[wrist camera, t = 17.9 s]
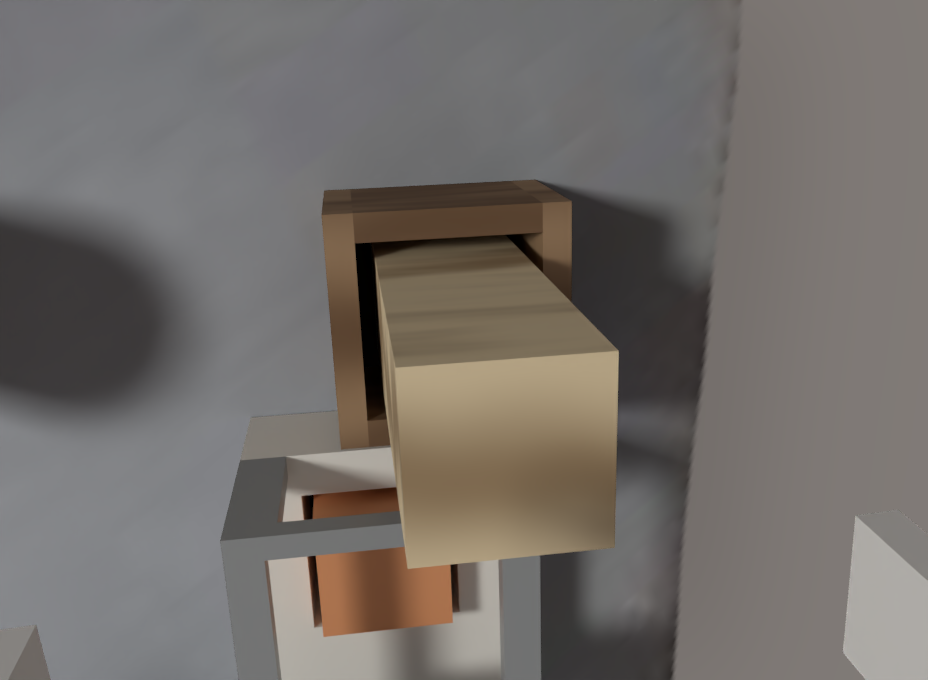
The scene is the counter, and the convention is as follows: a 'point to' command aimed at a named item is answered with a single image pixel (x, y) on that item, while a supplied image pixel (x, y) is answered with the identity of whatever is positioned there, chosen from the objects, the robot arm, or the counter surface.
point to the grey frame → (302, 538)
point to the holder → (415, 218)
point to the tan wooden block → (492, 404)
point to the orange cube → (376, 577)
